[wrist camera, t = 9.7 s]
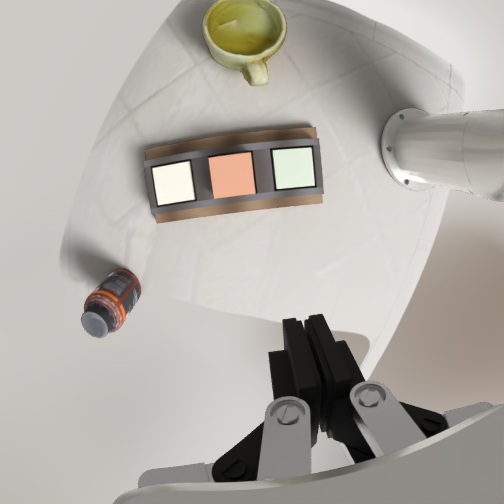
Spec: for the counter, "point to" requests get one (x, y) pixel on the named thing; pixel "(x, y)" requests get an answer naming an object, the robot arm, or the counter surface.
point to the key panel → (261, 164)
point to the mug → (244, 35)
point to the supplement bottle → (110, 303)
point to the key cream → (174, 183)
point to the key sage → (292, 168)
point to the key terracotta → (232, 175)
